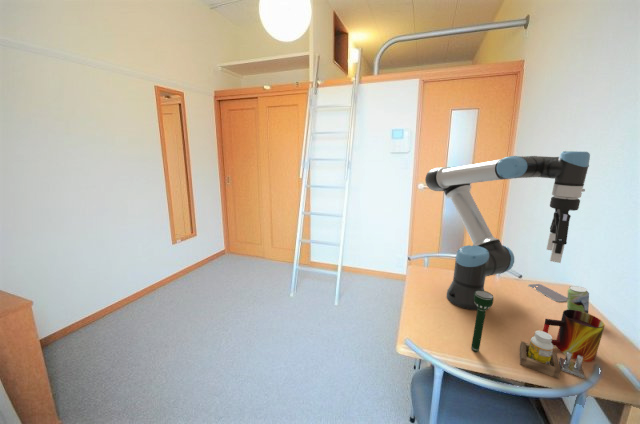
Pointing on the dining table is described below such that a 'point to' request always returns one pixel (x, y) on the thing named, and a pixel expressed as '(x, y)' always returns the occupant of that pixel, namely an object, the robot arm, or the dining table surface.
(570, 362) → the peg rest
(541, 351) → the supplement bottle
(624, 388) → the dining table surface
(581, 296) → the beverage can
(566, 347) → the mug
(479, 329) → the flashlight
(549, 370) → the collar block
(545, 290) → the smartphone
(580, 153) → the robot arm
